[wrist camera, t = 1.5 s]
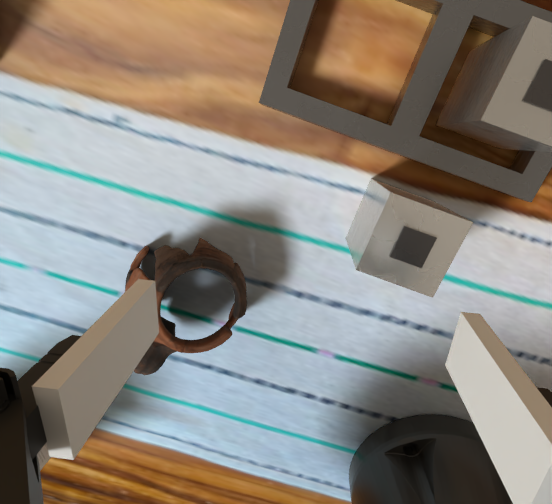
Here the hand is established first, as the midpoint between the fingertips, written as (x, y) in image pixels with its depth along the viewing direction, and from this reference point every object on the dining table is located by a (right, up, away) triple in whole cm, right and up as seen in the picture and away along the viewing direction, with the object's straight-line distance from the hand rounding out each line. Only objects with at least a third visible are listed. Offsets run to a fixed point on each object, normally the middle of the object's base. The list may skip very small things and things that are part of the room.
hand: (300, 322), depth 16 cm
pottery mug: (-9, 0, +16) cm, 19 cm away
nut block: (+8, +6, +13) cm, 16 cm away
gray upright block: (+13, +14, +10) cm, 21 cm away
